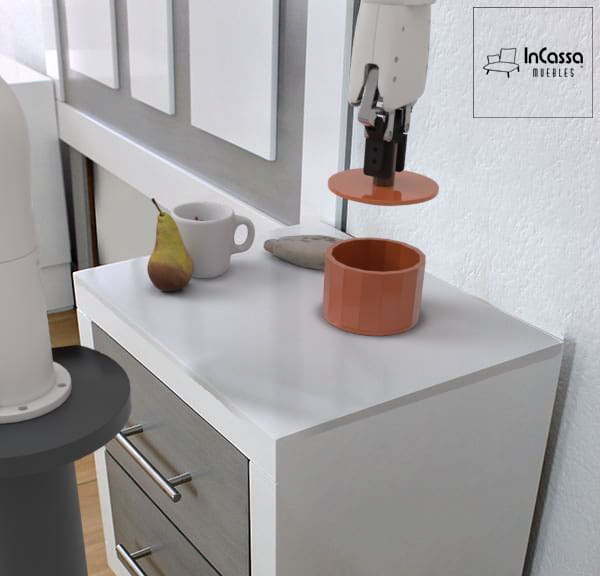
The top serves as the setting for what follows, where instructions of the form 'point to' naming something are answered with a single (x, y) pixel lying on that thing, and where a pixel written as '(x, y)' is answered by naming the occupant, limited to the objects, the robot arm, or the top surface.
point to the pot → (373, 285)
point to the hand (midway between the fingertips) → (383, 171)
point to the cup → (210, 235)
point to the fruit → (169, 256)
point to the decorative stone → (302, 249)
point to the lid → (383, 187)
